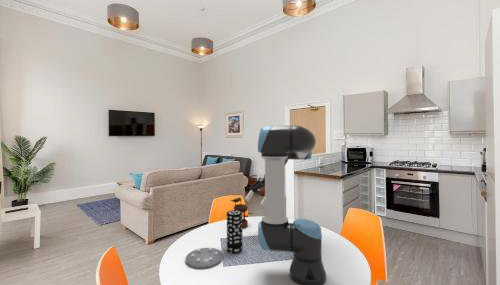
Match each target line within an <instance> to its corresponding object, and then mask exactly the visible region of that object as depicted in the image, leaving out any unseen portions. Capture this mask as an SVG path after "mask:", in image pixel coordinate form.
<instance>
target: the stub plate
mask: <svg viewBox="0 0 500 285" xmlns="http://www.w3.org/2000/svg"><path fill="white" fill-rule="evenodd" d="M223 260H224V253H223V251H221V250H220V249H219V248H214V247H202V248H197V249H194V250H193V251H190V252H189V253H187V255H186V256H185V265H187V266H188V267H189V268H191V269H195V270H207V269H211V268H214V267H216V266H218V265H219V264H221V263H222V262H223Z"/></svg>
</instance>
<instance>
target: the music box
mask: <svg viewBox="0 0 500 285" xmlns="http://www.w3.org/2000/svg"><path fill="white" fill-rule="evenodd" d="M229 201H230V202H232V203H234V205H233V210H238V211H242V214H243V218H242V230H244V229H246V228H248V227H249V222H248V220H247V219H246V218H249V215H253V213H251V212H247V211H248V209H249V208H248V205H246V204H243V203H242V198H241V197H236V198H234V199H231V200H229ZM239 202H240V203H239ZM238 203H239V204H238ZM246 212H247V215H246Z"/></svg>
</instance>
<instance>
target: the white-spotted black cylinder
mask: <svg viewBox="0 0 500 285" xmlns="http://www.w3.org/2000/svg"><path fill="white" fill-rule="evenodd" d="M242 219H243V213H242V211H238V210H234V209H231V210H228V211H227V212H226V251H227V253H229V254H233V255H234V254H235V255H236V254H240V253H242V252H243V250H244V249H243V246H244V245H243V229H242Z"/></svg>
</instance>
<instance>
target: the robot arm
mask: <svg viewBox="0 0 500 285" xmlns="http://www.w3.org/2000/svg"><path fill="white" fill-rule="evenodd" d="M315 146H316V136H315V135H314V133H313V132H312V131H310V130H309V129H308V128H305V127H304V126H301V125H266V126H265V125H264V126H262V127H261V128H260V130H259V135H258V141H257V152H258V153H261V156H260V157H261V158H262V159H263V160H264V175H263V176H264V177H263V178H262V177H261V176H260V177H258V179H257V180H256V181H255V182H254V183H252V184H251V185H250V186H249V187H248V189H249V191H248V193H247V195H246V197H245V198H244V200H246V201H247V202H249V201H250V200H251V199H252V197H253V196H254V194H255V191H258V190H259V189H261V188H263V187H264V197H263V199H262V200H261V202H260V205H261V206H262V207H264V211H265V212H264V215H263V216H262V217H261V220H260V221H259V222H258V224H257V228H258V229H257V230H258V231H257V234H258V241H259V246H260V248H261V249H262V250H264V251H270V252H286V253H287V252H288V253H293V258H292V261H291V264H290V267H289V277H290V279H291V280H292V281H293V282H294V283H296V284H298V285H324V284H325V283H326V280H327V273H326V270H325V267H324V263H323V259H322V254H323V253H322V240H323V239H322V238H323V235H322V229H321V226H320V225H319V224H318V223H316V222H315V221H313V220H310V219H306V218H296V219H294V220H293V222H289V218H288V216H286V207H285V206H286V204H285V203H286V202H285V201H286V197H285V196H286V193H285V192H286V189H285V188H286V187H285V186H286V185H285V180H286V177H285V176H286V175H285V174H286V173H285V172H286V171H285V169H286V168H285V166H286V164H287V163H288V162H289V160H303V161H304V160H305V161H306V160H307V161H308V160H311V159H312V155H313V154H312V153H313V152H312V150H314V148H315Z"/></svg>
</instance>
